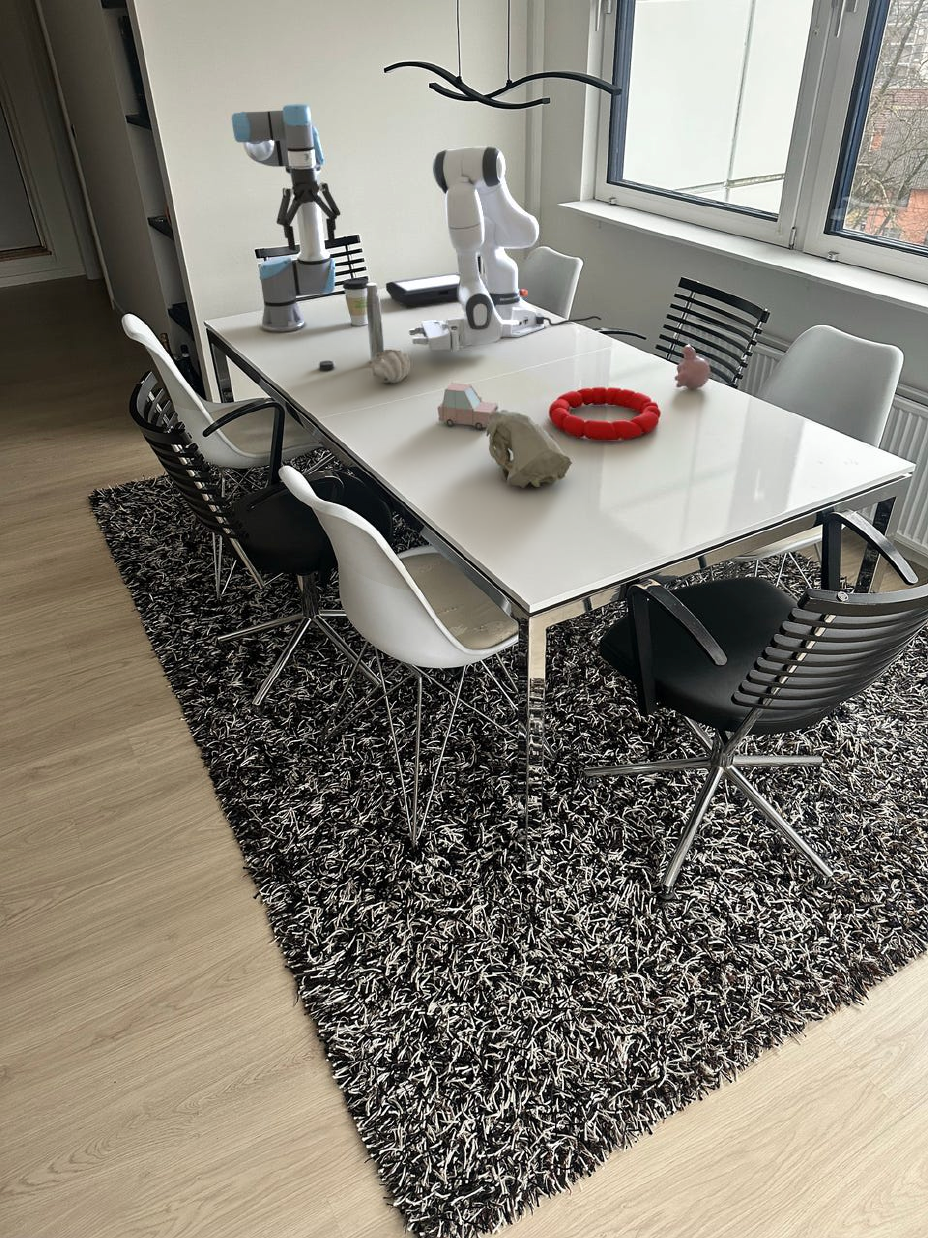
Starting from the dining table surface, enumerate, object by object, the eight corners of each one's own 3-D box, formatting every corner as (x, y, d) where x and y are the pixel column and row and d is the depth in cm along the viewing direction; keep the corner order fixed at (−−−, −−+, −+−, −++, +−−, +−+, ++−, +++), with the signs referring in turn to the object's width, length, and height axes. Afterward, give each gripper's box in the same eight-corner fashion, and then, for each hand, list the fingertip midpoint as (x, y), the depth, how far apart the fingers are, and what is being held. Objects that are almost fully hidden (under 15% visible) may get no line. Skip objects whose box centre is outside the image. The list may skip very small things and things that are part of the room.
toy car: (488, 432, 240) (488, 396, 234) (436, 426, 244) (434, 390, 239) (499, 419, 247) (499, 384, 241) (448, 413, 252) (447, 379, 246)
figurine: (665, 387, 264) (669, 347, 257) (693, 380, 268) (698, 340, 261) (686, 396, 257) (690, 355, 250) (714, 388, 262) (720, 348, 255)
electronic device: (403, 292, 336) (385, 281, 351) (404, 309, 340) (386, 297, 355) (480, 281, 346) (459, 270, 361) (480, 298, 350) (459, 286, 365)
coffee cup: (372, 326, 323) (368, 283, 314) (345, 327, 323) (340, 284, 315) (374, 318, 331) (371, 276, 322) (348, 319, 331) (344, 277, 323)
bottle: (385, 362, 290) (379, 285, 276) (372, 364, 289) (365, 286, 275) (383, 358, 294) (377, 281, 280) (370, 359, 293) (363, 282, 279)
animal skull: (496, 517, 219) (521, 479, 201) (463, 429, 225) (484, 384, 207) (557, 503, 225) (586, 465, 206) (523, 417, 231) (549, 373, 212)
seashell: (364, 381, 275) (361, 349, 270) (407, 372, 281) (405, 341, 275) (377, 391, 268) (374, 358, 262) (421, 382, 273) (420, 349, 268)
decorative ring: (589, 435, 224) (684, 402, 234) (527, 398, 247) (617, 369, 256) (589, 461, 229) (683, 427, 238) (529, 422, 251) (617, 393, 260)
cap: (326, 365, 289) (325, 359, 288) (336, 367, 287) (336, 361, 286) (316, 369, 286) (316, 363, 285) (327, 371, 284) (327, 365, 283)
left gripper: (270, 173, 245) (281, 254, 257) (347, 162, 257) (354, 240, 269) (257, 170, 250) (269, 250, 262) (333, 160, 262) (341, 237, 274)
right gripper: (447, 314, 297) (406, 317, 296) (457, 332, 281) (414, 335, 279) (448, 332, 301) (407, 336, 299) (458, 352, 284) (415, 355, 283)
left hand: (312, 245), depth 266 cm, fingers open, 13 cm apart
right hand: (410, 336), depth 289 cm, fingers open, 8 cm apart
